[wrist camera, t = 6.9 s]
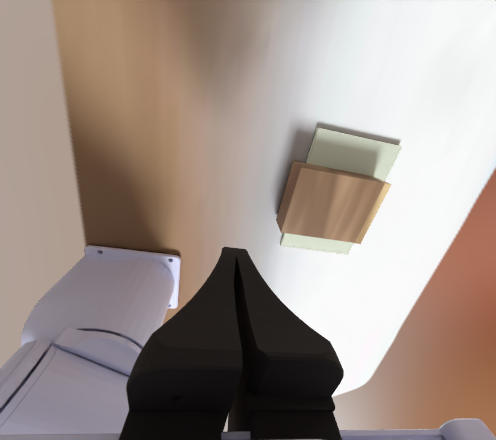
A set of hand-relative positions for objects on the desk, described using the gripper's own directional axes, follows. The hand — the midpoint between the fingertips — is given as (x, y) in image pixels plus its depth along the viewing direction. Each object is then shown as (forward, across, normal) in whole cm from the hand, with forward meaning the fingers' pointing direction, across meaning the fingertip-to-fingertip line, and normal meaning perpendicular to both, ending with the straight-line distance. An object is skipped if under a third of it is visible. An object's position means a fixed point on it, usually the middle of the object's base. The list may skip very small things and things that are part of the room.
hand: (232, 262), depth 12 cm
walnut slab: (+8, -5, -2) cm, 9 cm away
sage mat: (+9, -10, -2) cm, 14 cm away
